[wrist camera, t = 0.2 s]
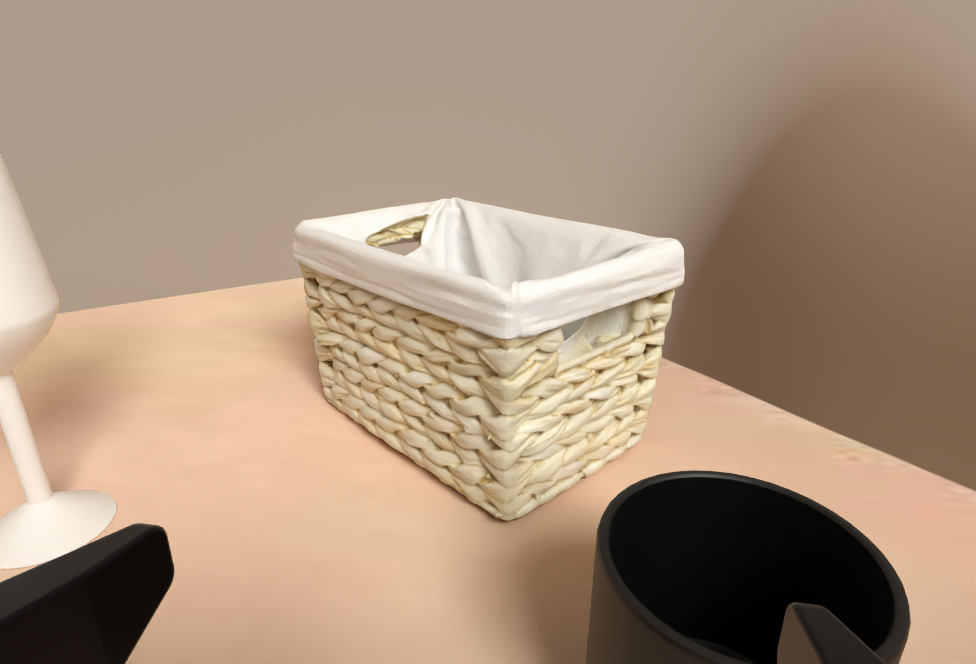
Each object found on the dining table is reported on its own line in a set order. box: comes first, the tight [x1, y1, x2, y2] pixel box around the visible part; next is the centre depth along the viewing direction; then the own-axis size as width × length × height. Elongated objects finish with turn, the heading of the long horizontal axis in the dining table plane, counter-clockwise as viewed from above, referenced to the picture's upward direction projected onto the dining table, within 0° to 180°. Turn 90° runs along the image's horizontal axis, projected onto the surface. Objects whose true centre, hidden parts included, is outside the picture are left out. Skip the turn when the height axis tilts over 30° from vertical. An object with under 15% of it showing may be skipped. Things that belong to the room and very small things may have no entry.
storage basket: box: [293, 198, 685, 521], centre depth 43 cm, size 24×16×15 cm
